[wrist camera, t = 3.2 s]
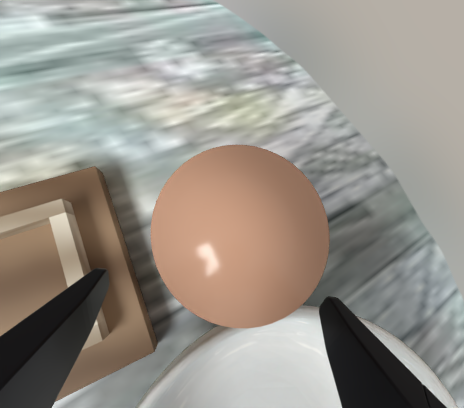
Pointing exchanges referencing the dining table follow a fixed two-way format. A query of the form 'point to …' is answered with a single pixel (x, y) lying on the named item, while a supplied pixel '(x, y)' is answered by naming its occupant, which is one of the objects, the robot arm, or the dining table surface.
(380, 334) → the serving bowl
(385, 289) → the dining table surface
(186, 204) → the peach rounded block
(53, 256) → the display stand
